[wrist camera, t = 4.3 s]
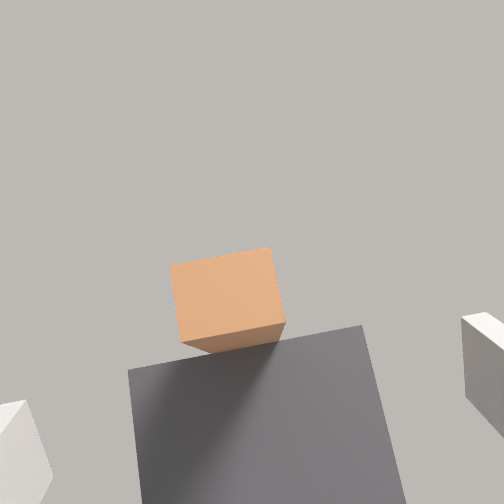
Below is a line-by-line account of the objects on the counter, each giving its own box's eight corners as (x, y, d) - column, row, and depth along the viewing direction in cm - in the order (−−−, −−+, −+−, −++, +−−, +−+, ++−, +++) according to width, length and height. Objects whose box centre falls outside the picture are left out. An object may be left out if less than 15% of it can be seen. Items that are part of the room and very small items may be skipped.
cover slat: (285, 321, 17) (270, 246, 18) (180, 342, 17) (169, 265, 18) (273, 354, 44) (267, 323, 45) (233, 361, 44) (228, 331, 45)
